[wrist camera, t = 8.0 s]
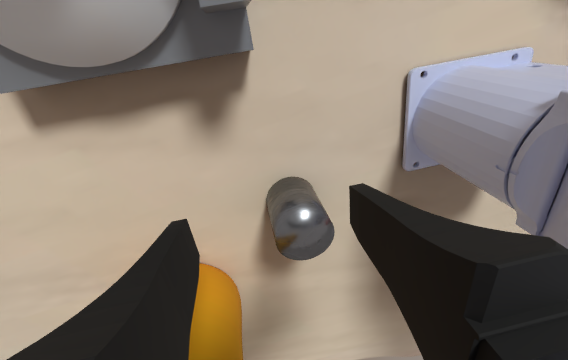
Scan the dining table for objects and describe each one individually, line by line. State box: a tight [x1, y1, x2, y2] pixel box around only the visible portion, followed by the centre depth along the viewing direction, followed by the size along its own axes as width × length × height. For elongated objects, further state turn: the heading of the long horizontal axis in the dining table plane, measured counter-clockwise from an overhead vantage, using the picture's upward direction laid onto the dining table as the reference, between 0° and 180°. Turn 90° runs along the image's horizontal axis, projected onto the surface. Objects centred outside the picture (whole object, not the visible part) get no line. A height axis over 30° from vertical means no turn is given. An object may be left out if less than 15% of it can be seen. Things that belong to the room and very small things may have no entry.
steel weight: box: [266, 177, 334, 260], centre depth 21 cm, size 4×4×5 cm
